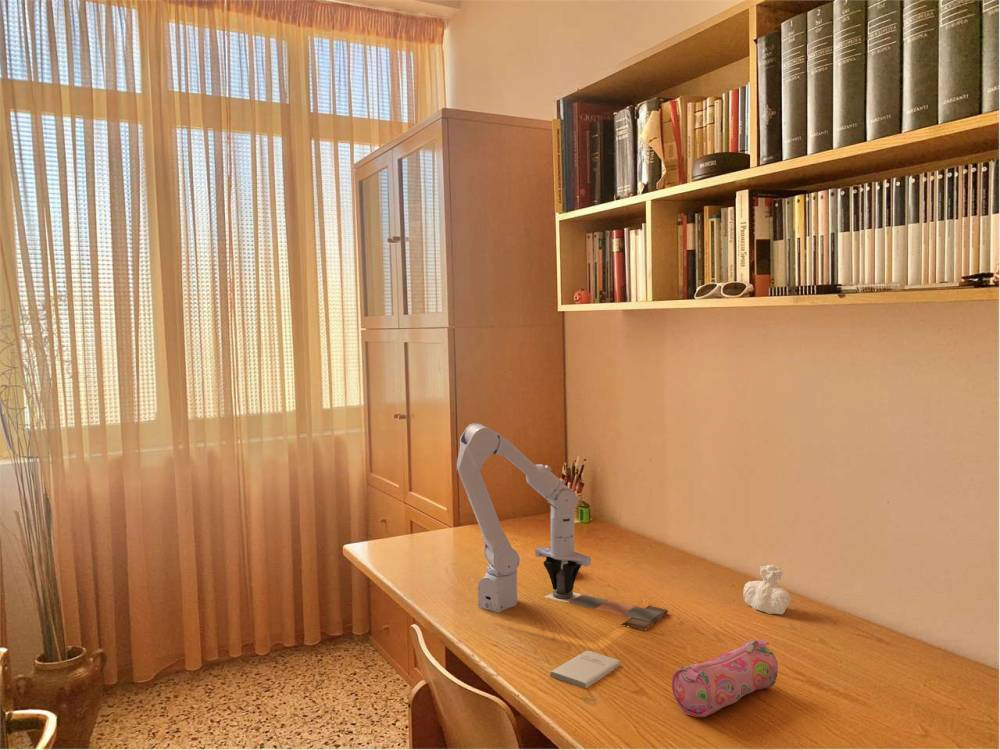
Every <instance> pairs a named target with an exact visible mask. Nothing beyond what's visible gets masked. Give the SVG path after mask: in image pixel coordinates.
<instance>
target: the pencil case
mask: <svg viewBox="0 0 1000 750" xmlns="http://www.w3.org/2000/svg"><path fill="white" fill-rule="evenodd" d="M769 644H770V643H769V642H768V641H766V640H764V639H760V638H757V639H755V640H747V641H745V642H744V643H742V644H741V645H740V646H739V647H738V648H736V649H732V650H730V651H728V652H725V653H722V654H720V655H718V656H715V657H713V658H710V659H708V660H707V661H704V662H701V663H692V664H690V665H689V664H688V665H685V666H680V667H679V668H677V669H676V671H674V673H673V676H672V679H671V680H672V681H671V690H672V694H673V697H674V698H675V701H676V702H677V705H678V706H679V708H680V709H681V711H682V712H683V713H684V714H686V715H688V716H690V717H693V718H706V717H707V716H710V715H712V714H715V713H716V712H718V711H719V710H721V709H723V708H724V707H727V706H729V705H732V704H734V703H737V702H738V701H739V700H740V699H741V698H743V697H744V696H746V695H748V694H751V693H754V692H755V691H760V690H763V689H769V688H772V687H773V686H775V684H776V681H777V678H778V669H779V668H778V667H779V664H778V659H777V658H776V655H775V654H774V653H773V651H771V649H770V648H768V647H767V646H766V645H769Z"/></svg>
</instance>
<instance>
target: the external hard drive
mask: <svg viewBox="0 0 1000 750" xmlns="http://www.w3.org/2000/svg"><path fill="white" fill-rule="evenodd" d="M621 662H622V661H621V660H620V659H617V658H613V657H610V656H607V655H604V654H601V653H597V652H594V651H591V650H585V651H583V652H582V653H580V654H578V655H577V656H574V657H573V658H572V659H569V660H568V661H565V662H564V663H563V664H561V665H559V666H557V667H556V668H555V669H552V670H551V671H550V672H549V677H551V678H554V679H555V680H559V681H562V682H566V683H568V684H571V685H574V686H576V687H577V686H578V687H580V688H582V689H585V690H586V689H588V688H589V687H590V686H592V685H593V684H595V683H597V682H598V681H599V680H601V679H603V678H604V677H606V676H607V675H609V674H610V673H612V672H613V671H615V670H616V669H618V668H619V667H621V666H620V665H621ZM618 666H619V667H618ZM617 667H618V668H617ZM615 668H616V669H615ZM614 669H615V670H614ZM611 671H612V672H611Z"/></svg>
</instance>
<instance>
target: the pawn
mask: <svg viewBox="0 0 1000 750" xmlns="http://www.w3.org/2000/svg"><path fill="white" fill-rule="evenodd" d="M556 578H557V589H556V590H553V597H555V598H557V599H569V598H572V597H573V593H574V591H571V592H569V593H567V592H566V589H565V574H564V570H563V569H562V570H559V571H558V572H557V574H556Z"/></svg>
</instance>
